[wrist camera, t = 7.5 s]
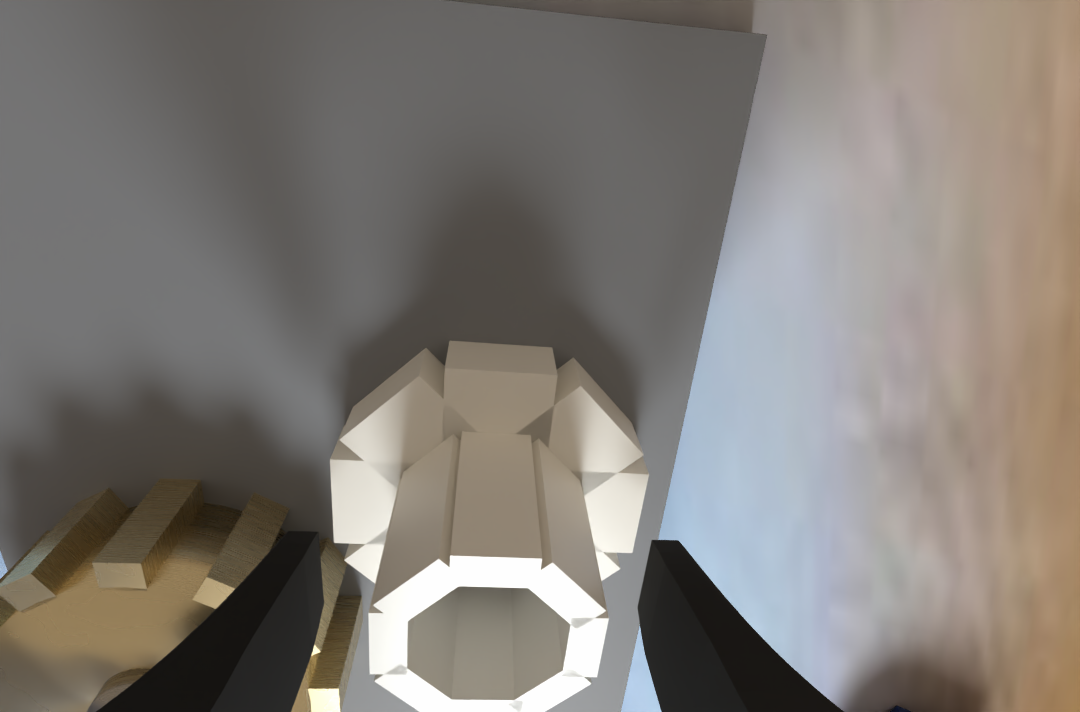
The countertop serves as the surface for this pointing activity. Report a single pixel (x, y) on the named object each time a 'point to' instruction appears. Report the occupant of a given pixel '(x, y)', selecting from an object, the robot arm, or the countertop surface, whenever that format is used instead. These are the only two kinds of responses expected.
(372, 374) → the carrier plate
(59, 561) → the sun gear
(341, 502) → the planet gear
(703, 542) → the countertop surface
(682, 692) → the robot arm
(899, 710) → the toy
